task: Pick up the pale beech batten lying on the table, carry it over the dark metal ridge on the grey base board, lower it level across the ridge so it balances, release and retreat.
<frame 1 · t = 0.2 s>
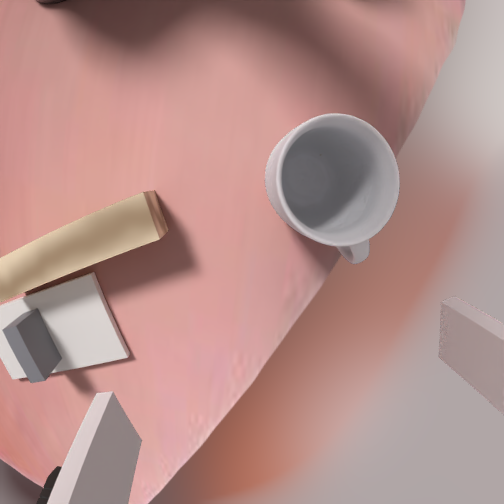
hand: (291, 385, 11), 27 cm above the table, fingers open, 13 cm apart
wooden beam: (78, 243, 35), on the table
fulcrum: (46, 332, 37), on the table
mug: (305, 187, 37), on the table
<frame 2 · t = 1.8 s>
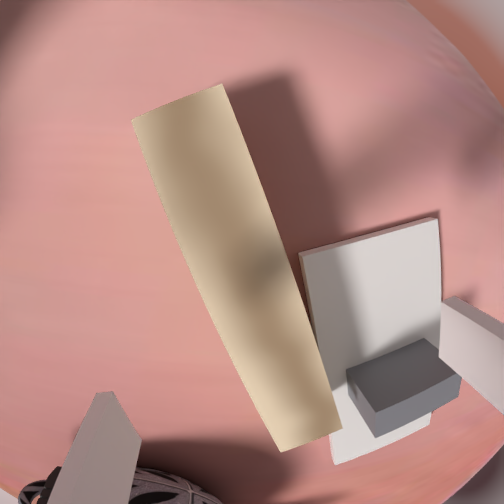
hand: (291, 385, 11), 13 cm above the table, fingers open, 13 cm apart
wooden beam: (246, 278, 23), on the table
teapot: (160, 498, 28), on the table
fulcrum: (381, 360, 26), on the table
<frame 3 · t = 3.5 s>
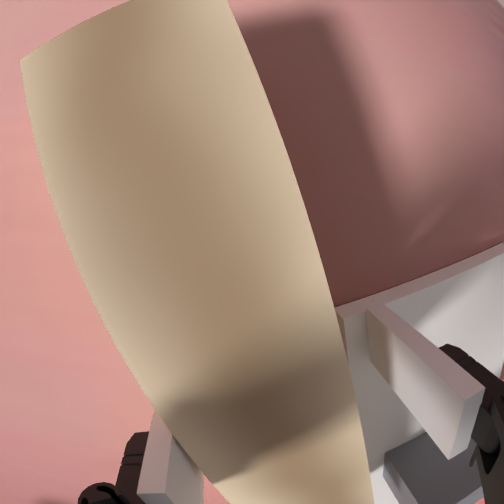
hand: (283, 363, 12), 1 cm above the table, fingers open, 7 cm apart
wooden beam: (253, 347, 14), on the table
fulcrum: (425, 429, 17), on the table
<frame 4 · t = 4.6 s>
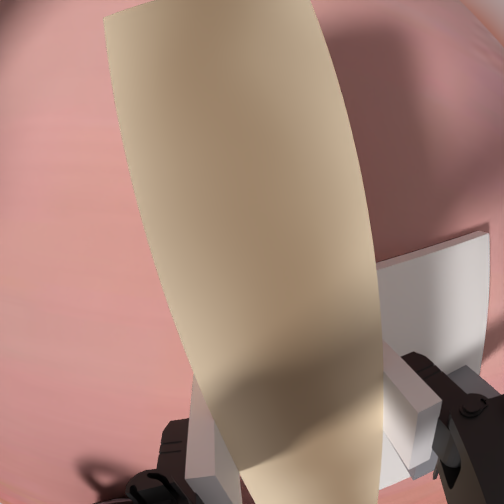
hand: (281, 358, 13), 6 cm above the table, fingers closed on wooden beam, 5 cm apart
wooden beam: (274, 335, 14), point 5 cm above the table, touching gripper
fulcrum: (419, 389, 21), on the table
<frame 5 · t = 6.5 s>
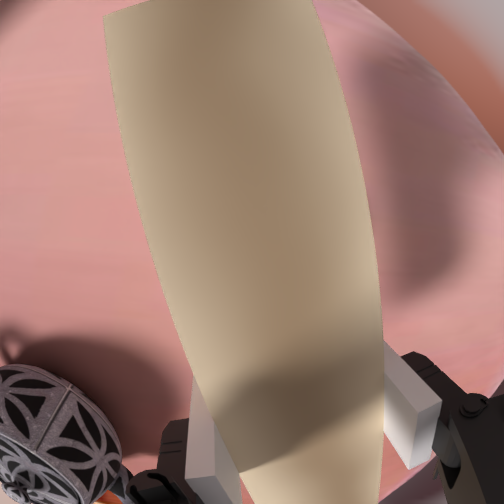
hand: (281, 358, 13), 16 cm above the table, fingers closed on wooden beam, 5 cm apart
wooden beam: (274, 336, 14), point 15 cm above the table, touching gripper
teapot: (66, 416, 30), on the table
when the fingers open (9 cm above the table, at t = 8.3 s): wooden beam stays where it is, resting on fulcrum.
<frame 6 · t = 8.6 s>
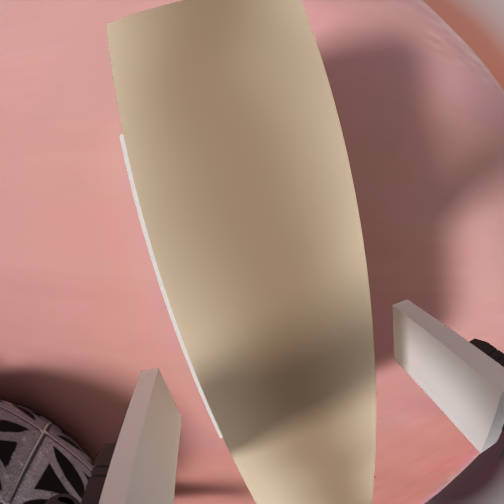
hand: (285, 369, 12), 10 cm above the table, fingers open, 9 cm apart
wooden beam: (270, 331, 14), point 7 cm above the table, touching fulcrum
teapot: (48, 451, 24), on the table
fulcrum: (256, 287, 22), on the table
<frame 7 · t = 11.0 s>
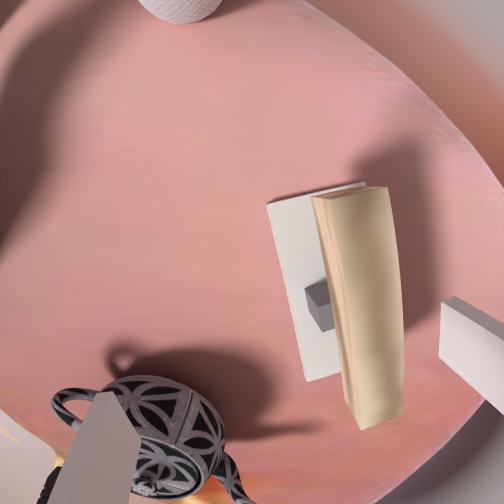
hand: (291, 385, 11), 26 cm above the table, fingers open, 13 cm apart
wooden beam: (354, 306, 31), point 7 cm above the table, touching fulcrum
teapot: (167, 416, 41), on the table
fulcrum: (334, 287, 38), on the table
mug: (195, 2, 30), on the table
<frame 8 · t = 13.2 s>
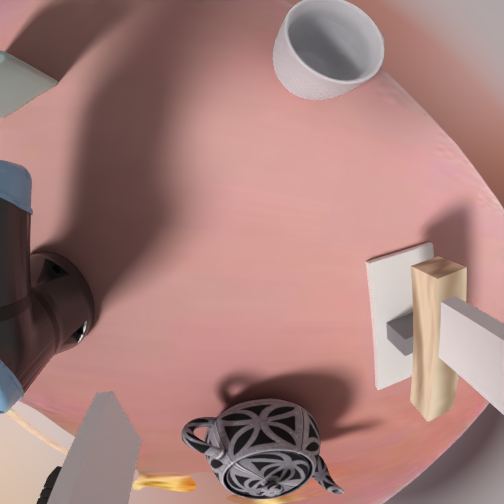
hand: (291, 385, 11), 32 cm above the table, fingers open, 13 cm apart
wooden beam: (426, 337, 40), point 7 cm above the table, touching fulcrum
teapot: (264, 428, 49), on the table
planter: (14, 94, 33), on the table
fulcrum: (403, 319, 47), on the table
mug: (310, 72, 38), on the table
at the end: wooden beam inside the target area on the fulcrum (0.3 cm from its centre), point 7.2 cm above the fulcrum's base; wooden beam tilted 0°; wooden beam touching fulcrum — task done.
